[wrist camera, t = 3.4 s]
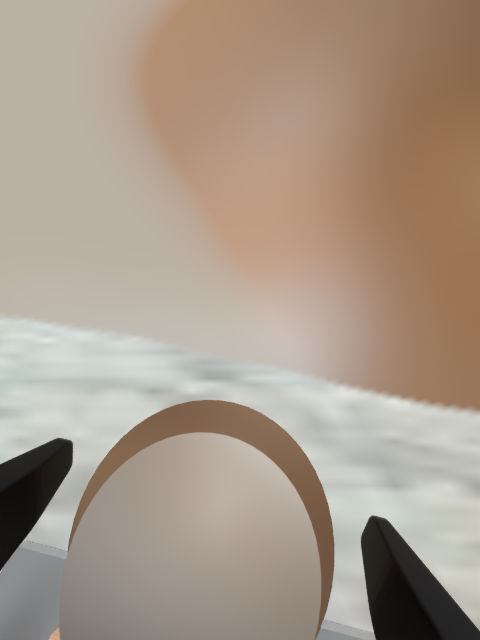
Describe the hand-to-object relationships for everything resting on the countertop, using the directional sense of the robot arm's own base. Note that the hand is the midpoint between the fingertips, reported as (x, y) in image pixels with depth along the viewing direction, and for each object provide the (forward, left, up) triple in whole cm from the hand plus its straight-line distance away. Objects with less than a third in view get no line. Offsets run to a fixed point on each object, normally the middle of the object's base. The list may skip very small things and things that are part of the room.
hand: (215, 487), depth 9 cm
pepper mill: (-1, 0, -7) cm, 7 cm away
